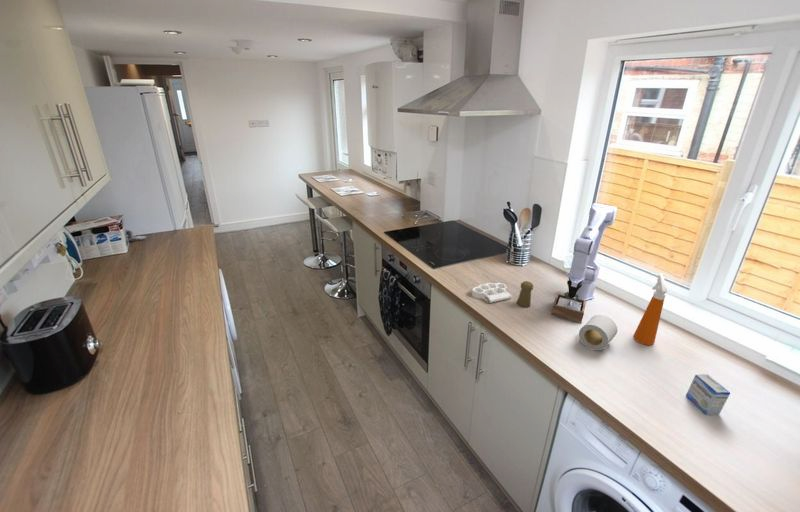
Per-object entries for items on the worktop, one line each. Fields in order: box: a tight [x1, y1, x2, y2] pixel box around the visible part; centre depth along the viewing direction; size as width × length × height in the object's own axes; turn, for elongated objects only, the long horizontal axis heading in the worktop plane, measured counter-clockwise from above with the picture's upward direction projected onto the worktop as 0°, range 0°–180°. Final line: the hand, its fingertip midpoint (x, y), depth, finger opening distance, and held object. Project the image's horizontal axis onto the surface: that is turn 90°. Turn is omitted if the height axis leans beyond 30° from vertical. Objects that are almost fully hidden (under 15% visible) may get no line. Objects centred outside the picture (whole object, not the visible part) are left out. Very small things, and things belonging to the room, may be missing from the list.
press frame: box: [550, 293, 587, 324], centre depth 158 cm, size 12×12×5 cm
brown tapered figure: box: [516, 280, 534, 309], centre depth 162 cm, size 6×6×11 cm
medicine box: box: [685, 373, 731, 416], centre depth 110 cm, size 8×4×9 cm, turn 5°
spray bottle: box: [632, 273, 668, 346], centre depth 139 cm, size 7×11×26 cm, turn 161°
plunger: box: [556, 291, 582, 311], centre depth 157 cm, size 9×9×6 cm
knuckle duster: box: [471, 282, 512, 304], centre depth 172 cm, size 3×18×15 cm
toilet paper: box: [578, 314, 618, 351], centre depth 138 cm, size 10×10×10 cm
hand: (571, 295), depth 156 cm, fingers closed on plunger, 3 cm apart
